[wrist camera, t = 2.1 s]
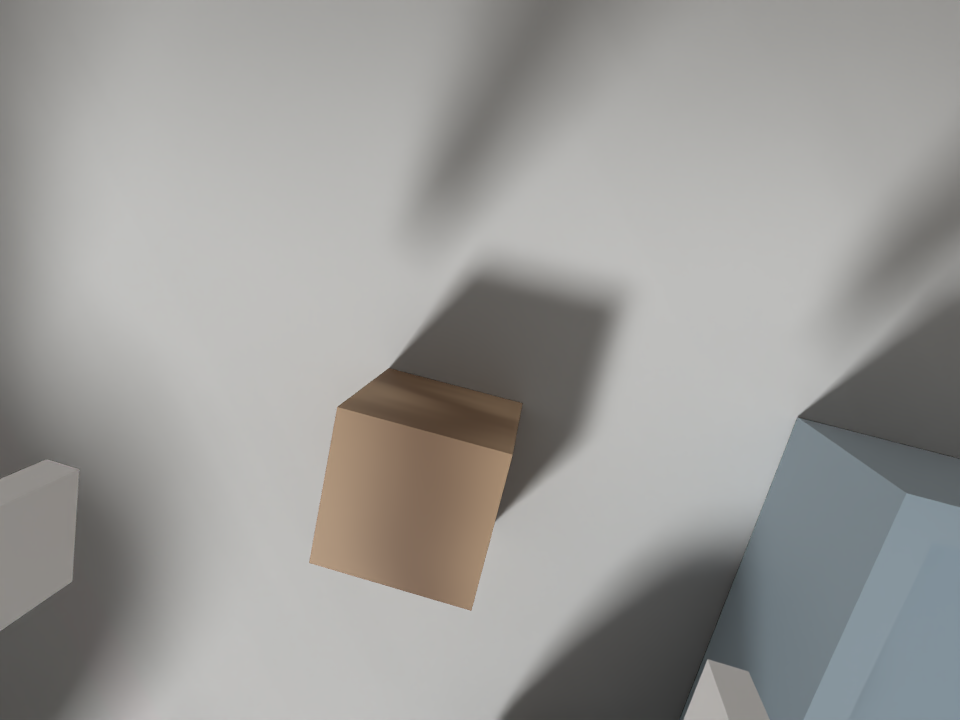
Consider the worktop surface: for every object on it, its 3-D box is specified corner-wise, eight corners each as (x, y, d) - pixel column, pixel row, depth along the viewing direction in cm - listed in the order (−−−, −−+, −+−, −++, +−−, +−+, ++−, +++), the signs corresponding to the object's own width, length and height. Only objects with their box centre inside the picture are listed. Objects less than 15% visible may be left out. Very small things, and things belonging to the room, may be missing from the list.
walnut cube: (365, 489, 21) (309, 562, 16) (389, 367, 20) (337, 407, 15) (490, 525, 21) (471, 610, 16) (522, 402, 20) (513, 454, 15)
